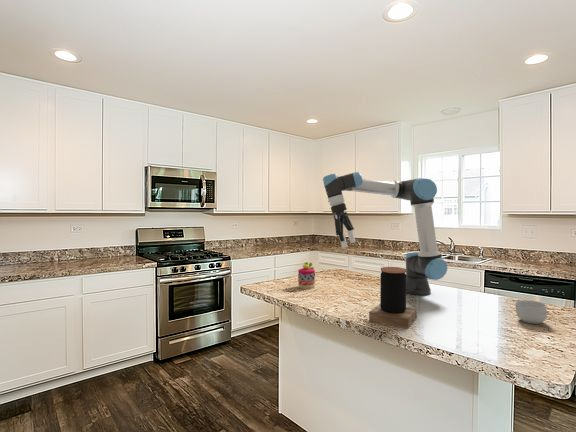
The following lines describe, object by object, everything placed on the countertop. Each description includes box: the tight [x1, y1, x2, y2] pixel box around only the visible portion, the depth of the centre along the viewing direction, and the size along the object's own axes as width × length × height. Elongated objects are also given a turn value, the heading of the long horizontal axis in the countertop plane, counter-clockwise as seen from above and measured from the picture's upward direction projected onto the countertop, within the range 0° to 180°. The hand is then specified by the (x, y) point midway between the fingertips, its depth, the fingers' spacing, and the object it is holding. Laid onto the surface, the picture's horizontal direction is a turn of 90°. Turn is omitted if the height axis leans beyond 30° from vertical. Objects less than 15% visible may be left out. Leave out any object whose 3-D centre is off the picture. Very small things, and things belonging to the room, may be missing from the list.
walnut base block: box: [368, 303, 418, 329], centre depth 144 cm, size 16×16×4 cm
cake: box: [297, 261, 316, 290], centre depth 205 cm, size 10×11×15 cm
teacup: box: [515, 299, 548, 325], centre depth 143 cm, size 14×11×8 cm
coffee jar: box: [379, 266, 407, 314], centre depth 144 cm, size 11×11×18 cm
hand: (349, 245), depth 168 cm, fingers open, 13 cm apart
